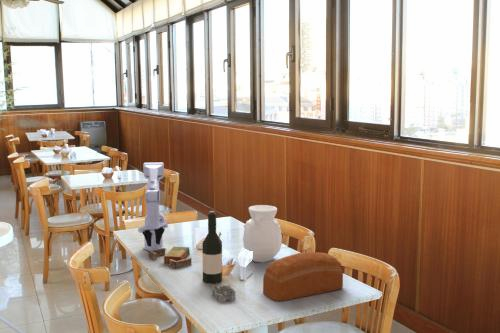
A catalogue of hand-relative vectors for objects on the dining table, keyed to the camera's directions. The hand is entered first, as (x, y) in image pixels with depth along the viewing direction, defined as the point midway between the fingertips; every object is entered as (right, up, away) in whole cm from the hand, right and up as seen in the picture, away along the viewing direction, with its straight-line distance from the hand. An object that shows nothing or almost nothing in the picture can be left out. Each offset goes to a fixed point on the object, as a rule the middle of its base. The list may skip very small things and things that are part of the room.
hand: (153, 245), depth 264 cm
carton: (+10, -9, +10) cm, 16 cm away
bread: (+66, -15, -29) cm, 73 cm away
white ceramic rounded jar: (+50, -8, +11) cm, 52 cm away
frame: (+6, -8, +7) cm, 13 cm away
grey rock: (+34, -16, -36) cm, 52 cm away
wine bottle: (+28, -13, -19) cm, 36 cm away
